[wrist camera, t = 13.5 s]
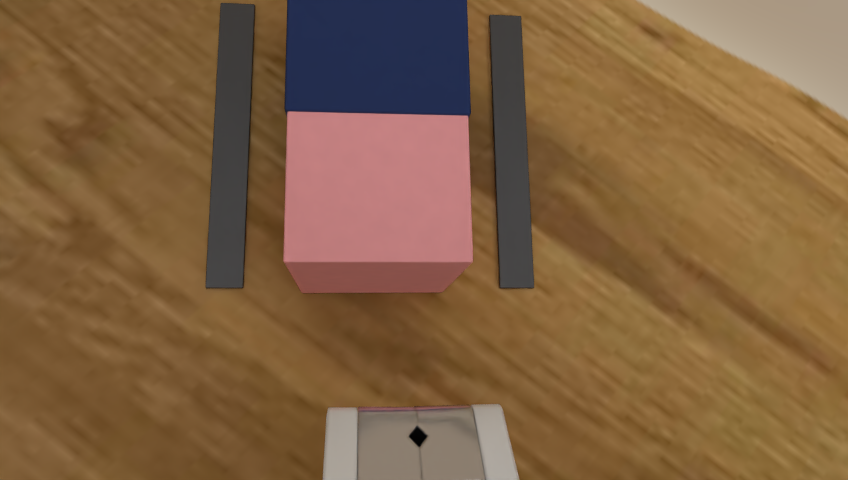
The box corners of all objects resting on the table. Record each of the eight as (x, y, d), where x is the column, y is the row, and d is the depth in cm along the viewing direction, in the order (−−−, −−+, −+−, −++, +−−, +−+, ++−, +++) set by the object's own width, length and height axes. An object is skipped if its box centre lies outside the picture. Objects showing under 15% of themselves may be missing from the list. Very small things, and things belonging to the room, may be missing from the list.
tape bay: (533, 288, 29) (534, 287, 29) (206, 288, 28) (205, 287, 28) (520, 17, 32) (521, 15, 32) (221, 4, 30) (220, 2, 30)
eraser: (444, 292, 29) (476, 261, 21) (299, 293, 28) (280, 261, 21) (437, 17, 31) (464, -95, 24) (305, 12, 31) (289, -105, 23)
